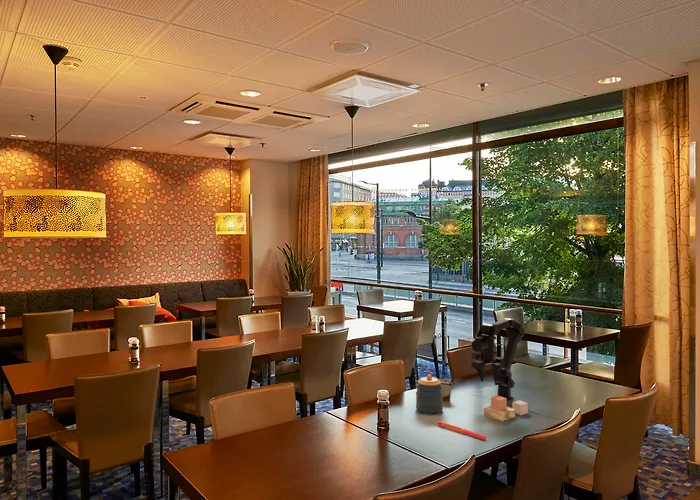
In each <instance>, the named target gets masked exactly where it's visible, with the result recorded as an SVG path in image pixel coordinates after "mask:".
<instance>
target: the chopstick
mask: <svg viewBox="0 0 700 500" xmlns="http://www.w3.org/2000/svg"><path fill="white" fill-rule="evenodd" d="M437 426H438V427H441V428H445V429H448V430H451V431H454V432H458V433H460V434H461V433H462V434H464V435H467V436H470V437H474V438H477V439H479V440H483V441H486V440H487V435H484V434H481V433H478V432H475V431H472V430H469V429H465V428H462V427H459V426H455V425H453V424H449V423H448V422H447V423H446V422H443V421H438V423H437Z"/></svg>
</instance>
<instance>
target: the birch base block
mask: <svg viewBox="0 0 700 500" xmlns="http://www.w3.org/2000/svg"><path fill="white" fill-rule="evenodd" d="M484 415H485V416H484ZM483 416H484V417H486V418H487V417H488V418H490V417H491V418H490V419H492V418H494V419H493V420H495V419H497V420H496V421H498V420H499V422H505V421H507V420H510V419H514V418H516V413H515V409H512V407H509V406H507V409H505V410H502V411H498V410H495V409H492V408H491V405H489V406H485V407H483ZM504 420H505V421H504Z"/></svg>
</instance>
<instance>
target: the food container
mask: <svg viewBox="0 0 700 500" xmlns="http://www.w3.org/2000/svg"><path fill="white" fill-rule="evenodd" d="M437 379H438V380H440V381H441V385H442V386H443V388H442V393H443V403H444V402H448V403H449V402H451V395H452V387H453V386H454V385H453V382H452V381H451V380H450V379H445V378H444V379H443V378H437Z"/></svg>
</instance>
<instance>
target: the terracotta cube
mask: <svg viewBox="0 0 700 500" xmlns="http://www.w3.org/2000/svg"><path fill="white" fill-rule="evenodd" d="M507 400H508V399H507V398H504V397H500V396H498V395H495V396H492V397H490V406H491V408H492V409H495V410H498V411H502V410H505V409H507V407H508V406H507V404H508V403H507V402H508V401H507Z"/></svg>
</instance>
